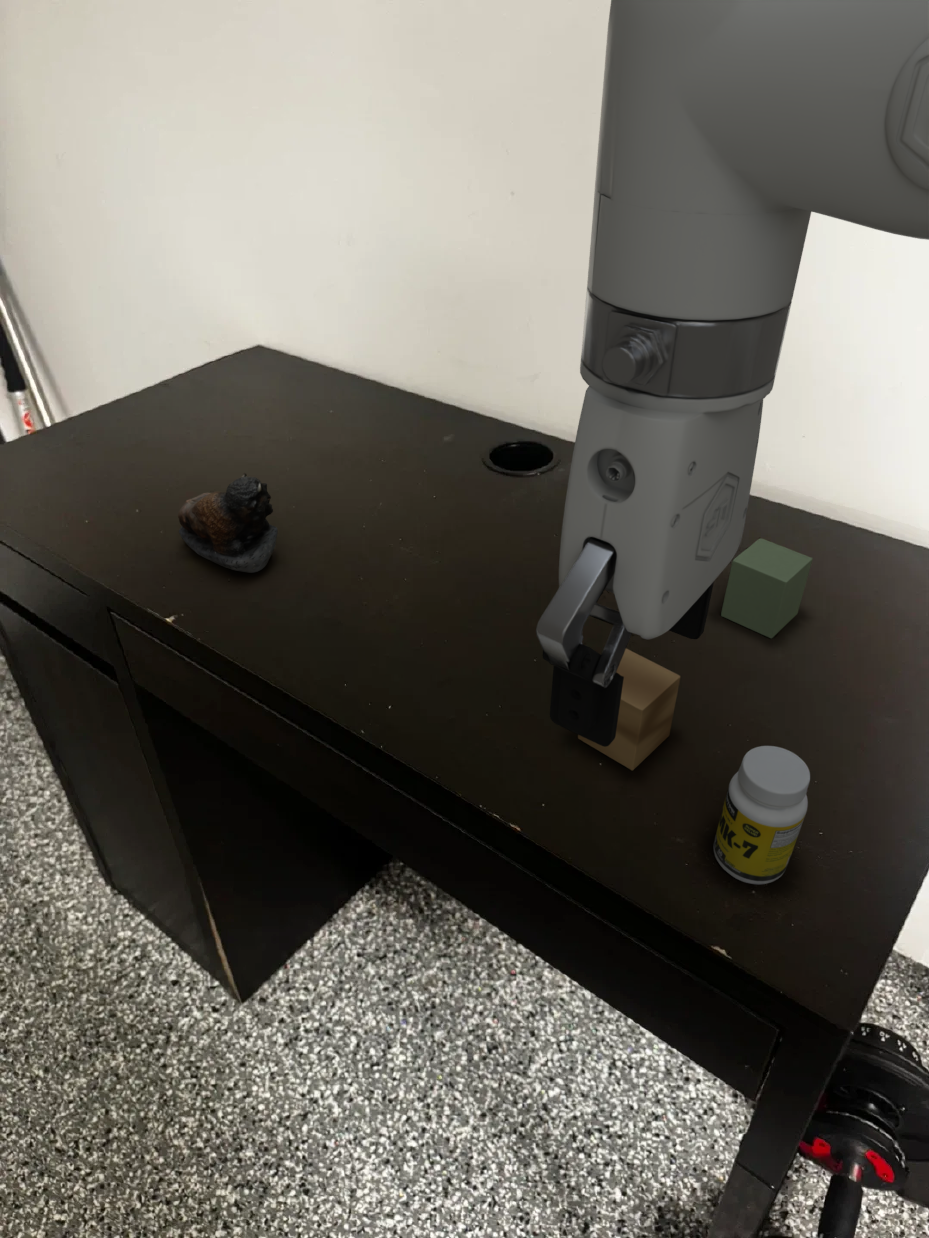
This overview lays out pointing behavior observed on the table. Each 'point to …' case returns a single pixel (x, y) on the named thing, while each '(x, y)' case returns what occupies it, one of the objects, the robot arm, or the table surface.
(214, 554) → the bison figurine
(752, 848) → the supplement bottle
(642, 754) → the oak block
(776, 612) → the sage block
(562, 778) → the table surface
